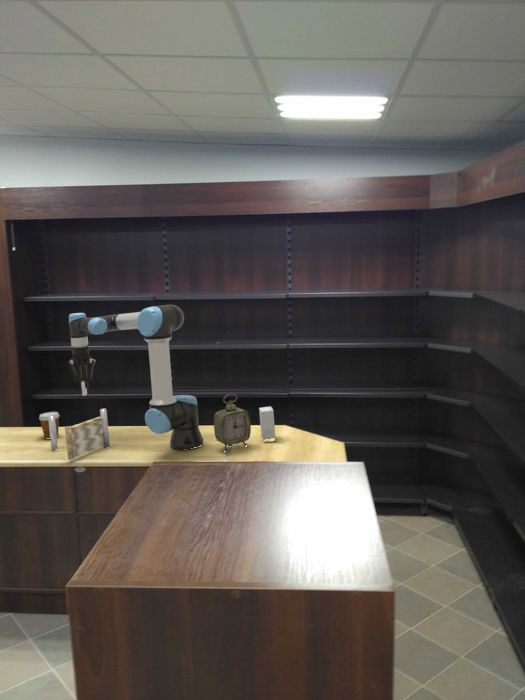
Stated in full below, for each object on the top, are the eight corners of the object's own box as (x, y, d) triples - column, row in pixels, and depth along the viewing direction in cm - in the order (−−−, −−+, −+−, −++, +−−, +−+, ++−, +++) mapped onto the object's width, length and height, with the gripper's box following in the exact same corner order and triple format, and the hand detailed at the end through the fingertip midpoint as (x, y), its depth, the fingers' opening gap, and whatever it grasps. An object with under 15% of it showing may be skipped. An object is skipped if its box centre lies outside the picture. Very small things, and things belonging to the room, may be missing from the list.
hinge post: (110, 445, 253) (106, 408, 250) (109, 447, 250) (105, 409, 247) (104, 446, 253) (100, 408, 250) (102, 448, 250) (99, 410, 247)
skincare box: (275, 442, 248) (274, 410, 245) (262, 443, 247) (261, 411, 245) (273, 436, 256) (271, 405, 254) (260, 437, 255) (258, 406, 253)
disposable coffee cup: (48, 442, 263) (45, 417, 261) (37, 438, 269) (34, 415, 267) (65, 436, 270) (63, 413, 268) (54, 433, 276) (52, 410, 274)
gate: (101, 444, 250) (98, 415, 248) (105, 445, 249) (102, 415, 247) (66, 459, 233) (63, 427, 231) (70, 459, 232) (67, 428, 230)
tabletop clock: (223, 455, 234) (220, 398, 230) (213, 449, 241) (210, 394, 237) (251, 447, 242) (249, 392, 238) (241, 442, 249) (238, 389, 245)
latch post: (59, 448, 252) (55, 415, 249) (57, 450, 249) (53, 417, 247) (52, 449, 252) (49, 415, 249) (50, 451, 249) (47, 417, 247)
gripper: (96, 344, 260) (100, 392, 263) (68, 345, 259) (73, 393, 263) (92, 346, 252) (96, 396, 256) (63, 348, 252) (68, 397, 255)
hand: (84, 394), depth 259 cm, fingers closed
